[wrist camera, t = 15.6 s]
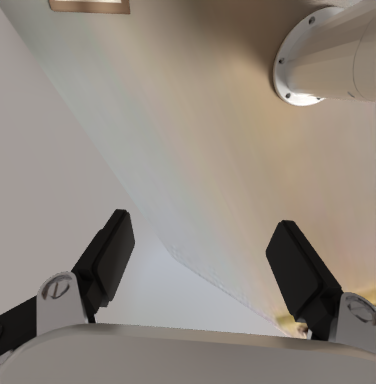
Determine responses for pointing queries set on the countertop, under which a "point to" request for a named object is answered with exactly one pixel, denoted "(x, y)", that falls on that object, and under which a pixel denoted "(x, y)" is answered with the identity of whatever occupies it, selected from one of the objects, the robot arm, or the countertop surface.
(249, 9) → the countertop surface
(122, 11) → the marked board
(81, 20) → the countertop surface
